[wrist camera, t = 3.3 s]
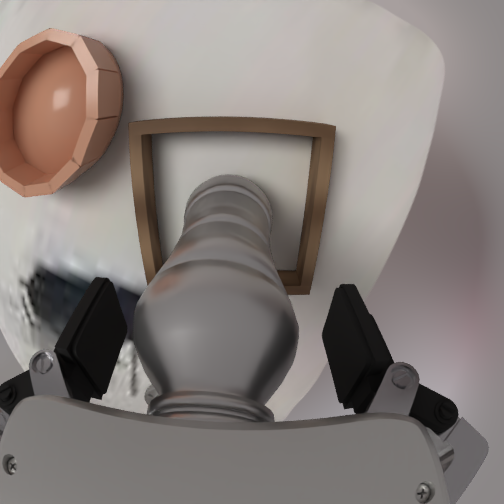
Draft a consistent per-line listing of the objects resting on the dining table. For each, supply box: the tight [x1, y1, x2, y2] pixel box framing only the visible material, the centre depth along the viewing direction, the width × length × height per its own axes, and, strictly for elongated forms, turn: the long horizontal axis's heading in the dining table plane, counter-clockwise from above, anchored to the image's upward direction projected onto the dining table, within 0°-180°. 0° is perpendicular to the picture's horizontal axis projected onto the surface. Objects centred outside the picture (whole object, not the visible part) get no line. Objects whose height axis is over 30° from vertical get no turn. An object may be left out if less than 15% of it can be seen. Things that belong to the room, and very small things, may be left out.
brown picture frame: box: [128, 117, 336, 295], centre depth 22 cm, size 15×15×2 cm
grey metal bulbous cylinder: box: [134, 175, 299, 422], centre depth 14 cm, size 6×7×20 cm
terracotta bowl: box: [0, 28, 123, 197], centre depth 15 cm, size 14×14×4 cm
